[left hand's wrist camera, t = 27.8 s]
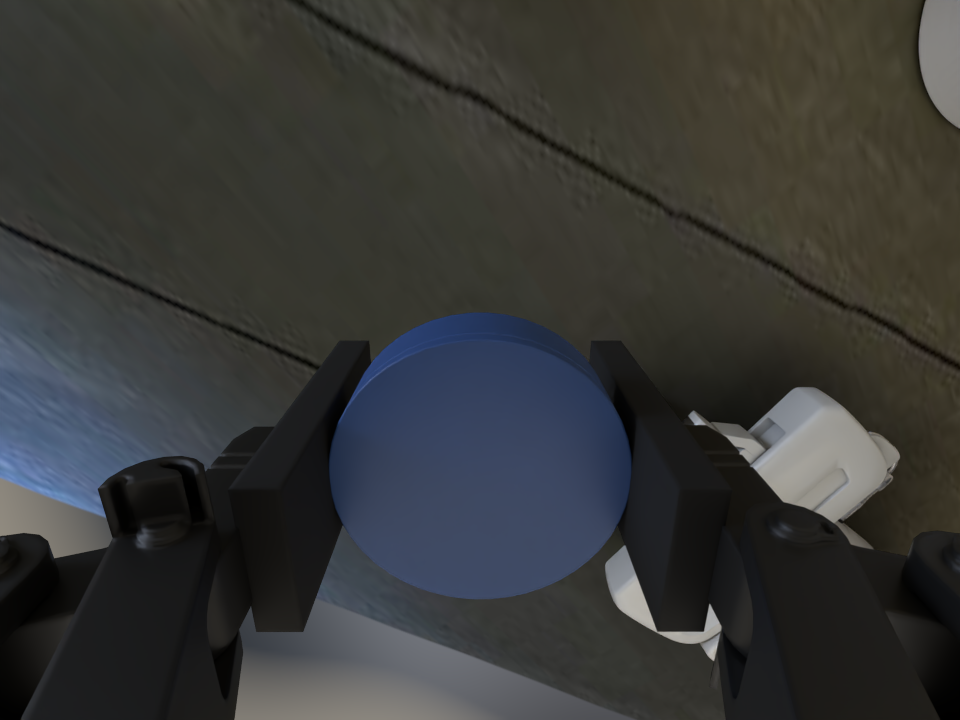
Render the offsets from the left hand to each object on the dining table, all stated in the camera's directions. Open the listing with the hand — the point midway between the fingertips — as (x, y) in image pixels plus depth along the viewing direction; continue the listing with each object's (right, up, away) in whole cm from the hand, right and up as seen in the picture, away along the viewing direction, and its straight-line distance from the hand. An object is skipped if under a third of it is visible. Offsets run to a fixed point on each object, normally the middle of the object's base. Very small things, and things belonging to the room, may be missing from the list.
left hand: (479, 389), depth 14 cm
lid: (0, -1, -4) cm, 4 cm away
